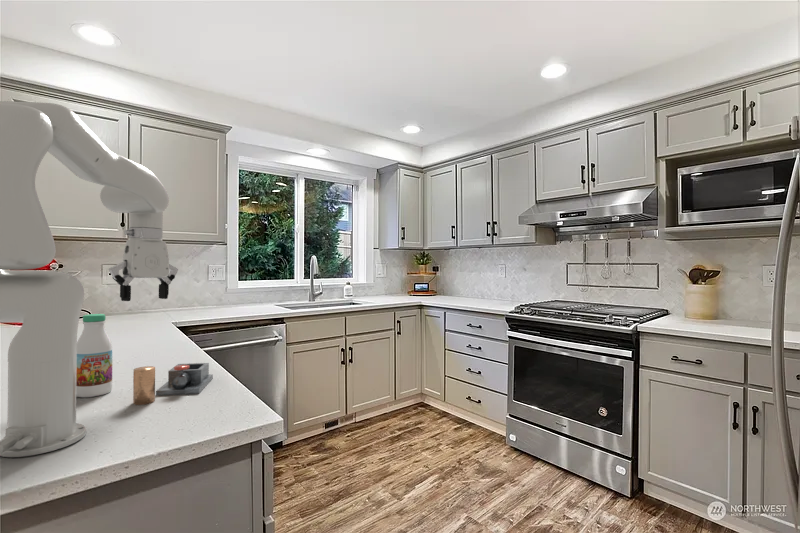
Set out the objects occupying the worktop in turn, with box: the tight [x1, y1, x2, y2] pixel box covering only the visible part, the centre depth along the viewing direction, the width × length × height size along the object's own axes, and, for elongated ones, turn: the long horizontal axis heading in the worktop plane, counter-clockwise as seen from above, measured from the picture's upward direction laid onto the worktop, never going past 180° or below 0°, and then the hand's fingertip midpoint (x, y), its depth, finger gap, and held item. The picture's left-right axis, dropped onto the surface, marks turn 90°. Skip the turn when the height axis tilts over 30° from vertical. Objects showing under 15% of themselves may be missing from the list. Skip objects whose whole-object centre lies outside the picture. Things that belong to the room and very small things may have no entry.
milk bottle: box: [76, 313, 113, 398], centre depth 103 cm, size 8×8×20 cm
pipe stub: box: [132, 365, 156, 406], centre depth 97 cm, size 4×4×8 cm
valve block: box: [155, 362, 214, 397], centre depth 110 cm, size 14×10×6 cm
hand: (145, 299), depth 108 cm, fingers open, 9 cm apart
